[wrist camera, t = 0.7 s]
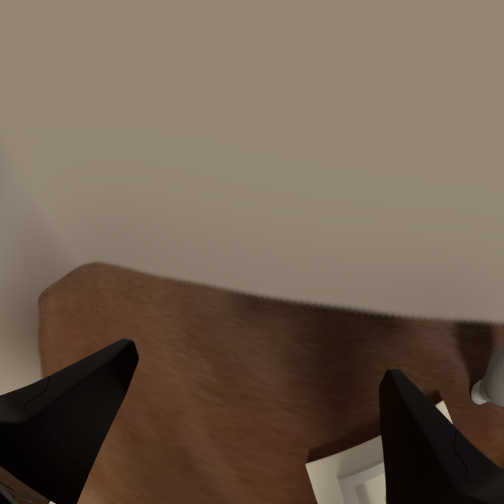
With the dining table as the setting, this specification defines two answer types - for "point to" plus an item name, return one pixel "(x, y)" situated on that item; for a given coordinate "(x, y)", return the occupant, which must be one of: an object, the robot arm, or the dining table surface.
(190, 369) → the dining table surface
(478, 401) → the light bulb
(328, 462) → the socket base
